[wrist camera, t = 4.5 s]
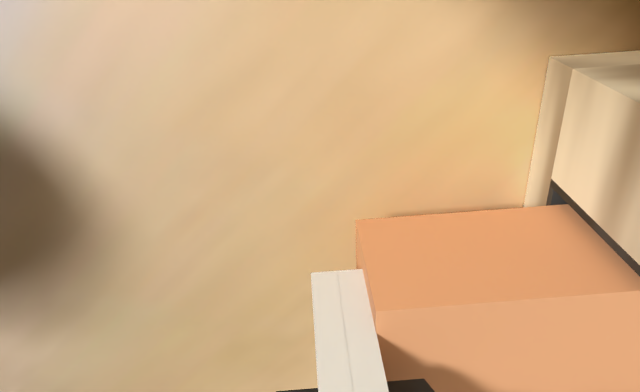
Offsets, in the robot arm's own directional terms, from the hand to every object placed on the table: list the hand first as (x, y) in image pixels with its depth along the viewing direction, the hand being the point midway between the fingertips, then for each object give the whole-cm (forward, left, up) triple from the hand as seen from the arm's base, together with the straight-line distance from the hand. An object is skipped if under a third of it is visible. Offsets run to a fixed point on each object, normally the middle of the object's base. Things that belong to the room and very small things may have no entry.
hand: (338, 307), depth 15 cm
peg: (+6, 0, -2) cm, 6 cm away
